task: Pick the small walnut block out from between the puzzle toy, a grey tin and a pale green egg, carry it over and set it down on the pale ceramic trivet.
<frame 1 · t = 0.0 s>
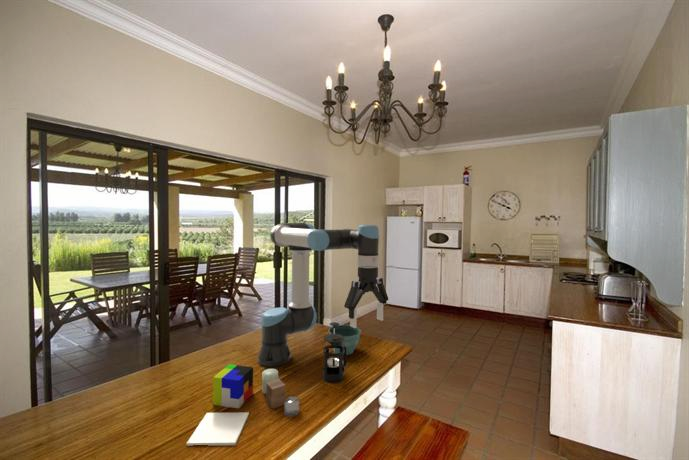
hand: (367, 323, 113), 28 cm above the table, fingers open, 13 cm apart
walnut block: (275, 403, 110), on the table
pale green egg: (270, 390, 118), on the table
flower pot: (344, 351, 154), on the table
grey tin: (291, 412, 105), on the table
trivet: (220, 429, 96), on the table
french press: (334, 377, 129), on the table
puzzle toy: (233, 399, 112), on the table
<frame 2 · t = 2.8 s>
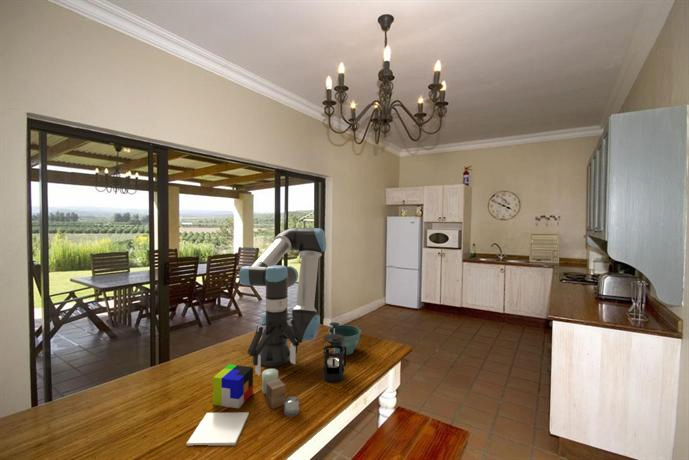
hand: (275, 368, 109), 13 cm above the table, fingers open, 13 cm apart
nothing on the table moved.
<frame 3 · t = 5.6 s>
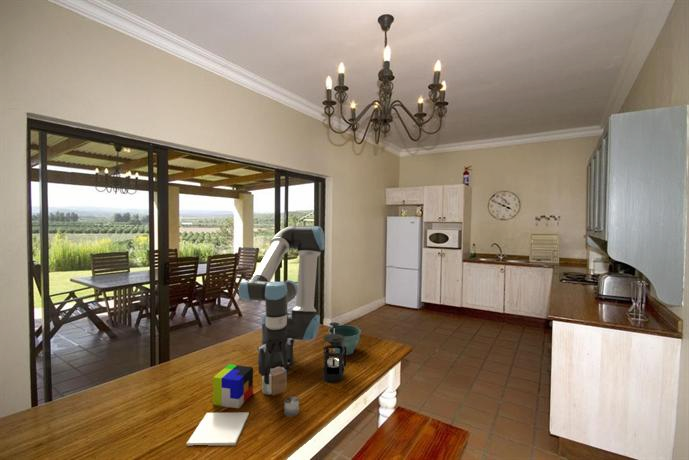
hand: (276, 388, 110), 5 cm above the table, fingers closed on walnut block, 5 cm apart
walnut block: (276, 389, 110), point 4 cm above the table, touching gripper
everything else where it was.
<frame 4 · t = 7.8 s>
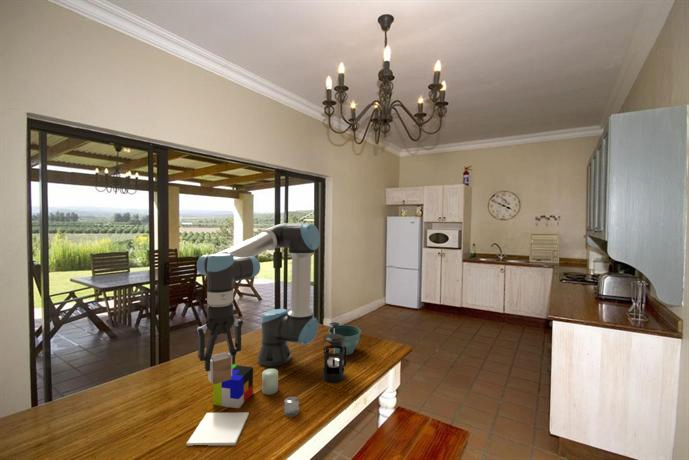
hand: (220, 377, 95), 17 cm above the table, fingers closed on walnut block, 5 cm apart
walnut block: (220, 378, 95), point 16 cm above the table, touching gripper
everything else where it was.
when the fingers open (1 cm above the table, at t = 10.3 s): walnut block stays where it is, resting on trivet.
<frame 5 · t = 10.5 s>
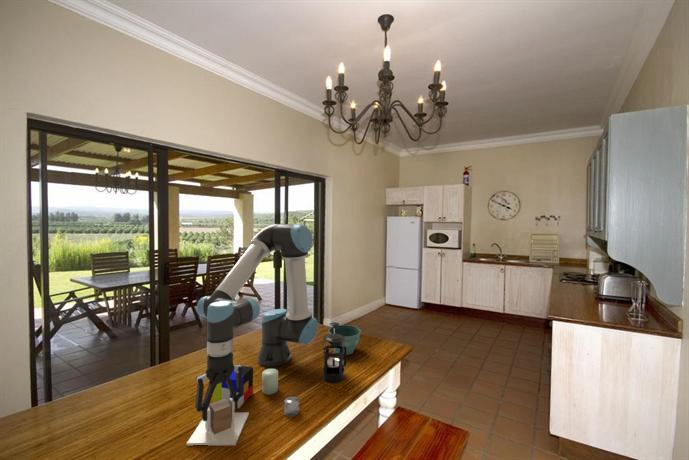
hand: (220, 424, 96), 1 cm above the table, fingers open, 7 cm apart
walnut block: (220, 426, 96), point 1 cm above the table, touching trivet
everything else where it was.
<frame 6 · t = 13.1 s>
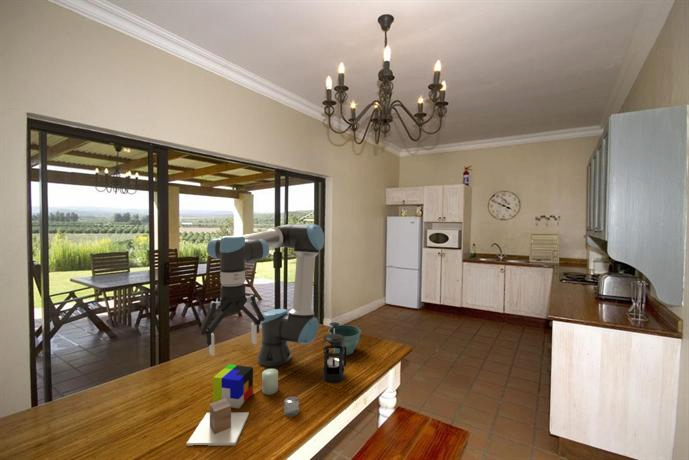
hand: (233, 348, 99), 24 cm above the table, fingers open, 13 cm apart
nothing on the table moved.
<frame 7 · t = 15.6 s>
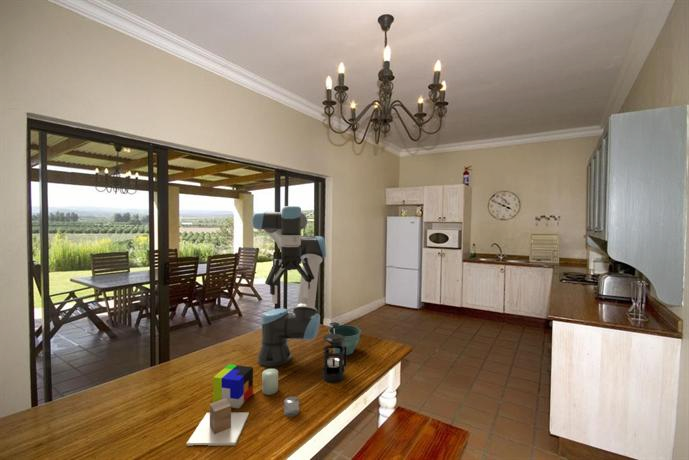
hand: (290, 300, 119), 35 cm above the table, fingers open, 13 cm apart
nothing on the table moved.
at the end: walnut block 0.1 cm from the trivet (horizontally); walnut block tilted 0°; the gripper is holding nothing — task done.
